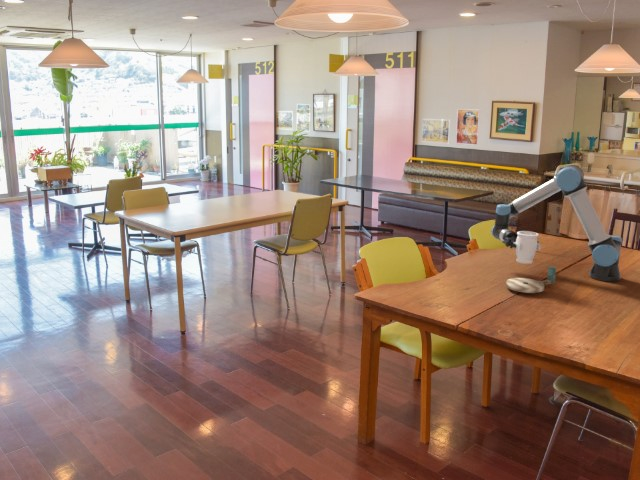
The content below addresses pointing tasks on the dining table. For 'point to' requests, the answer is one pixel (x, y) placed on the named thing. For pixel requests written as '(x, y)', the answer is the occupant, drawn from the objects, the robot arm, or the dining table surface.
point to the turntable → (531, 283)
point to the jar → (526, 246)
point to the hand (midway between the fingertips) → (530, 247)
